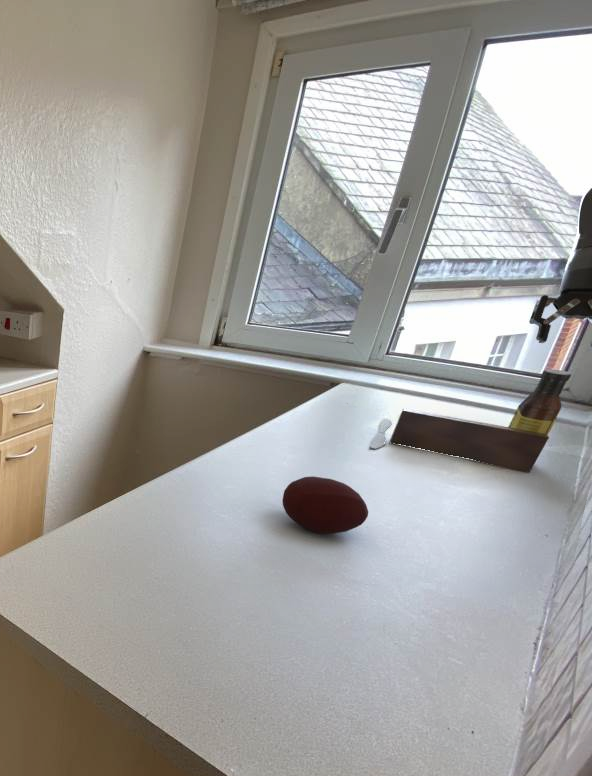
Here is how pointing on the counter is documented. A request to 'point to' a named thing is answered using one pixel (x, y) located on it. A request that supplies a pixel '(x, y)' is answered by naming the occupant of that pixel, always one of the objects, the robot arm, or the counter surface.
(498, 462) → the backsplash board
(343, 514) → the potato
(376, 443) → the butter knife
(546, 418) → the sauce bottle
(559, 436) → the counter surface
